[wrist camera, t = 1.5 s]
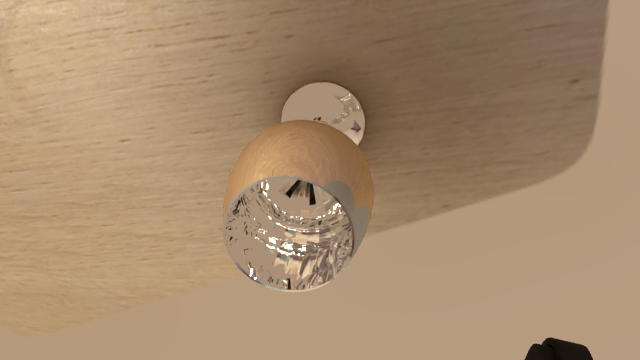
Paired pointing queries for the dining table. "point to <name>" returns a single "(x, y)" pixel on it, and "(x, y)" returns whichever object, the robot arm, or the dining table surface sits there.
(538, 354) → the robot arm
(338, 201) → the wineglass
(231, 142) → the dining table surface
